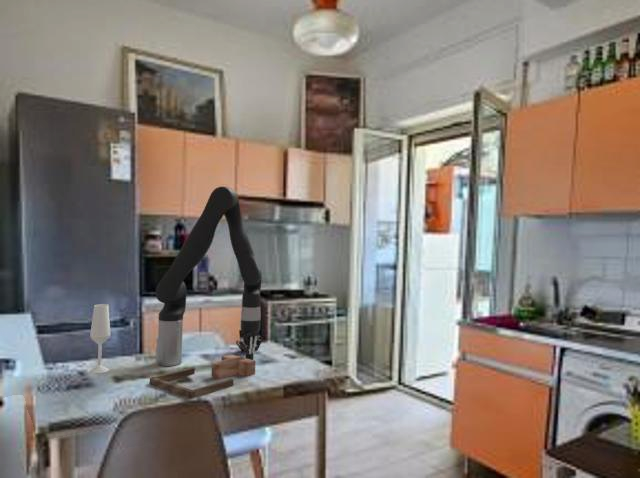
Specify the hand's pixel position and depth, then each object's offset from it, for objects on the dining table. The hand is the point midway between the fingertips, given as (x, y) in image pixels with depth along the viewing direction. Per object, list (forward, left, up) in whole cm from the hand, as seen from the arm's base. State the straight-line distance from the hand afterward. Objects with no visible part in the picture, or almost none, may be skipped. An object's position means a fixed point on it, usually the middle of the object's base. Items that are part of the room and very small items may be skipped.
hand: (249, 363), depth 178 cm
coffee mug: (-20, +20, -2) cm, 28 cm away
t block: (0, -10, -2) cm, 11 cm away
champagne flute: (-38, -39, -2) cm, 54 cm away
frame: (0, -26, -2) cm, 27 cm away
